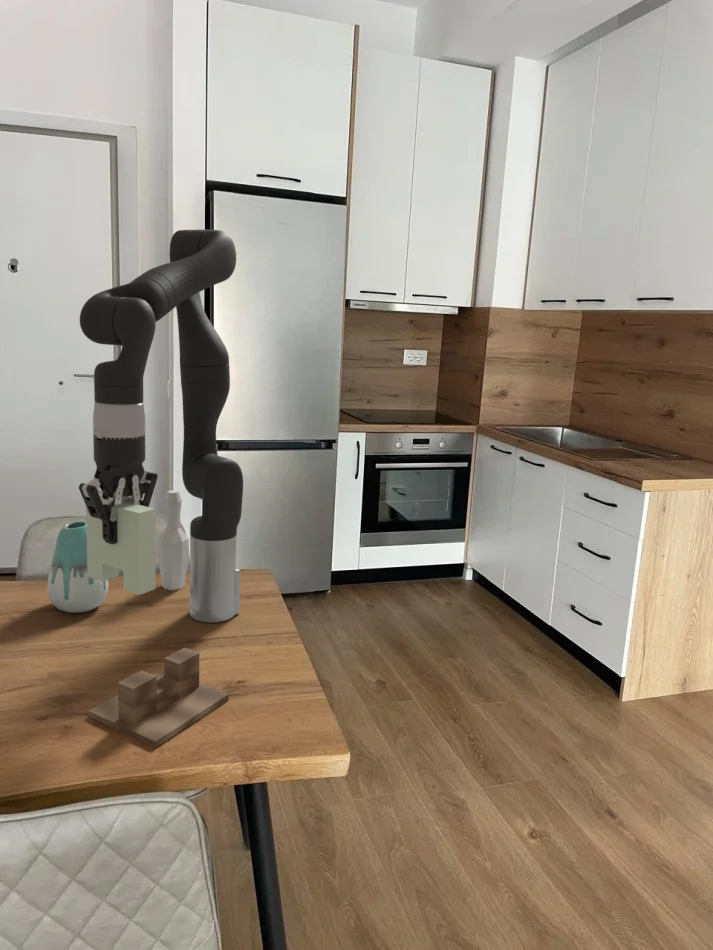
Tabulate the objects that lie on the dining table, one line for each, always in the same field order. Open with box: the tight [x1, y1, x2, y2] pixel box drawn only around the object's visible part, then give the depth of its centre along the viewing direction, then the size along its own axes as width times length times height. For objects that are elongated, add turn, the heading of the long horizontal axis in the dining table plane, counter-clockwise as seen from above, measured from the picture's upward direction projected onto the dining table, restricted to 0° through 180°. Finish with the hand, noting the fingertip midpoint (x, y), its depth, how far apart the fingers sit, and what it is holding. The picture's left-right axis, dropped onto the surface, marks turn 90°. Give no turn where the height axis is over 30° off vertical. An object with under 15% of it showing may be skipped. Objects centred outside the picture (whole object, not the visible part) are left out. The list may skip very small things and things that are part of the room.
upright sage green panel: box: [85, 497, 156, 596], centre depth 112 cm, size 3×12×13 cm, turn 59°
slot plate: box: [88, 647, 230, 749], centre depth 112 cm, size 16×14×7 cm
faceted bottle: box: [157, 489, 190, 591], centre depth 158 cm, size 6×6×22 cm
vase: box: [46, 520, 109, 614], centre depth 146 cm, size 12×12×18 cm
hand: (120, 539), depth 112 cm, fingers closed on upright sage green panel, 3 cm apart
